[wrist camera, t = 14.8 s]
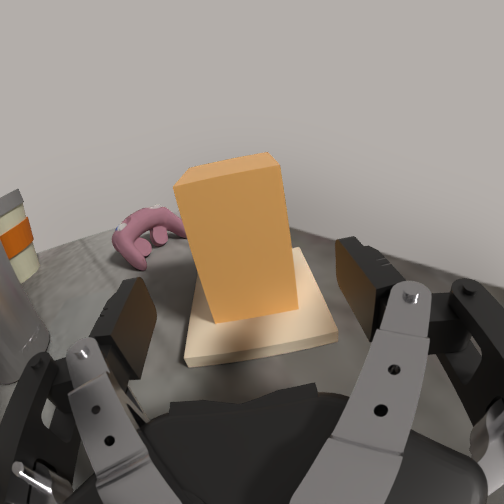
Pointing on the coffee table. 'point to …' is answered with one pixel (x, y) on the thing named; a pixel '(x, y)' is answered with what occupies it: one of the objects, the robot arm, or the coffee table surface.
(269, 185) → the tall orange pillar
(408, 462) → the robot arm
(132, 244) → the video game controller
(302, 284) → the flat beige base block
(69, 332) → the coffee table surface
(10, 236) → the reusable coffee cup
